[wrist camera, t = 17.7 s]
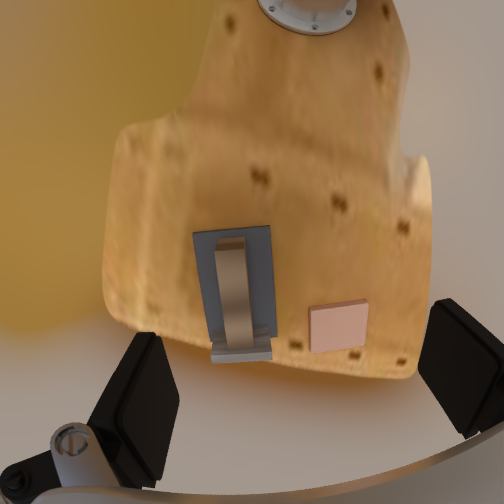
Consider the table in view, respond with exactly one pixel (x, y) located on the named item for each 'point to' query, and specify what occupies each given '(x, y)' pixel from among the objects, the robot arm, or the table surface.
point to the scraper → (237, 308)
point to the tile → (337, 325)
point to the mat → (257, 272)
